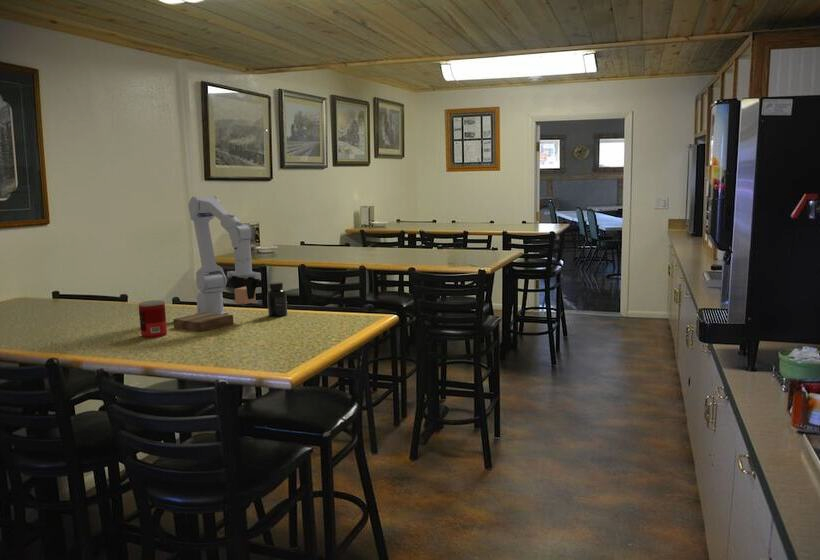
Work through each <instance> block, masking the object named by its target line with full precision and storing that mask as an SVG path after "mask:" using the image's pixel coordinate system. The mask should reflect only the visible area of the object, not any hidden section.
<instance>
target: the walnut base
mask: <svg viewBox="0 0 820 560" xmlns="http://www.w3.org/2000/svg"><path fill="white" fill-rule="evenodd" d="M172 321H173V322H172V323H173V328H174V329H180V330H186V331H187V330H189V331H194V332H205V331H209V330H214V329H217V328H222V327H225V326H230V325H233V324H234V315H233V314H228V313H227V314H218V313H209V312H203V313H199V314H196V313H195V314H190V315H187V316H186V315H185V316H180V317H178V318H172Z"/></svg>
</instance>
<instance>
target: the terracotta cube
mask: <svg viewBox="0 0 820 560" xmlns="http://www.w3.org/2000/svg"><path fill="white" fill-rule="evenodd" d="M233 290H234V302H235V304H242V305H244V304H245V305H248V304H252V303H255V302H256V301H257V299H256V298H257V297H256V294H257V293H255V294H254V298H253V299H248V295H247V288H246V286H243V287H241V288H236V289H234V288H233Z"/></svg>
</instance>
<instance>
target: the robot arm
mask: <svg viewBox="0 0 820 560" xmlns="http://www.w3.org/2000/svg"><path fill="white" fill-rule="evenodd" d="M221 204H222V203H221V200H220V198H219V197H218V196H217V195H213V196H210V195H209V196H192V197H191V198H190V199H189V202H188V212H189V217H190V220H191V221H193V225H194V226H193V227H194V231H195V237H196V241H197V247H198V252H199V257H200V263H201V266H200V267H199V269H198V270H197V271H196V272H195V274H196V275H195V276H196V279H195V280H196V281H195V284H196V287H197V290H199V292H198V293H197V296H196V306H197V307H196V308H197V313H195V314H199V313H203V312H209V313H218V314H227V315H228V314H229V311H224V301H223V300H224V299H223V291H224V290H225V287H226V286H227V282H229V283H230V285H231V286H232V288H233V290H234V289H236V288H241V287H244V286H245V287H246V288H247V295H248V299H253V298H254V294H256V289H257V287H258V284H259V282H260V279H262V272H257V271H253V265H252V264H253V263H252V262H253V261H252V251H251V250H252V248H251V247H252V245H251V241H252V240H253V238H254V230H253V228H252V226H251V225H250V224H248V223H247V224H246V223H243V222H241V221H240V220H239V218H238V217H236V215H235V214H234V213H228V212H227V211H226V210H225V208H224V207H223V206H222V205H221ZM214 218H217V219H218V220H219V221H220V223H219V224H220V226H221V227H222V228H223V229H224V230H225V231H226V232H227V233H228V236H229V239H230V242H231V247H232V248H233V254H234V255H233V256H234V257H233V259H234V270H230V271H229V270H228V271H226V275H227V276H226V275H225V272H224V269H223V268H222V266H220V265H218V264H217V263H216V262H217V261H216V256H215V252H214V251H215V250H214V247H213V246H214V245H213V240H212V234H211V229H210V225H209V223H210V221H211V220H213V219H214ZM227 278H228V281H227ZM244 284H245V285H244Z"/></svg>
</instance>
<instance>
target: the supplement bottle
mask: <svg viewBox="0 0 820 560" xmlns="http://www.w3.org/2000/svg"><path fill="white" fill-rule="evenodd" d="M268 284H269V287H268V288H269V290H268V291H267V292H266V293H267V296H266V297H267V308H268V309H267V310H268V312H267V313H268V316H269V317H273V318H279V317H285V316H287V315H288V304H287V292H286V290H285V289H284V285H283V282H281V281H279V282H270V283H268Z"/></svg>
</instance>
